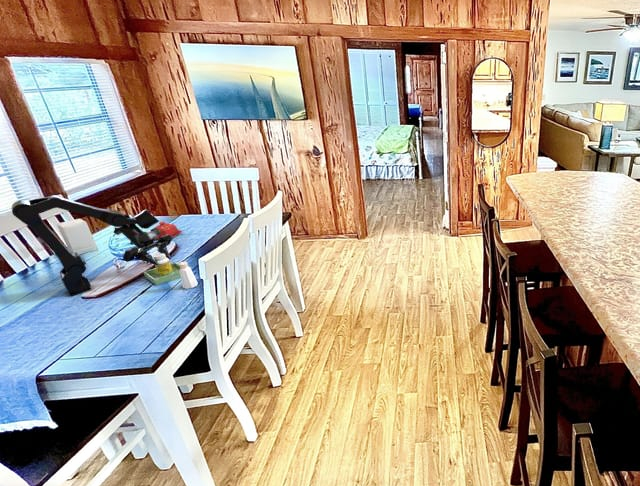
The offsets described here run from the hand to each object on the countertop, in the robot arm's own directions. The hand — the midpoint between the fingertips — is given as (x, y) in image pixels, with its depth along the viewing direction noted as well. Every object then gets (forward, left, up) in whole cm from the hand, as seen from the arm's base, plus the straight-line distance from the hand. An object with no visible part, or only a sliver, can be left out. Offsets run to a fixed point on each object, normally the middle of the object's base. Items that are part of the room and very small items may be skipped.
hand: (164, 261), depth 169 cm
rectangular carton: (-13, +63, -7) cm, 65 cm away
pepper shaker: (+2, -17, -7) cm, 18 cm away
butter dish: (+18, +51, -7) cm, 55 cm away
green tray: (0, +1, -7) cm, 7 cm away
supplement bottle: (0, +1, -7) cm, 7 cm away
